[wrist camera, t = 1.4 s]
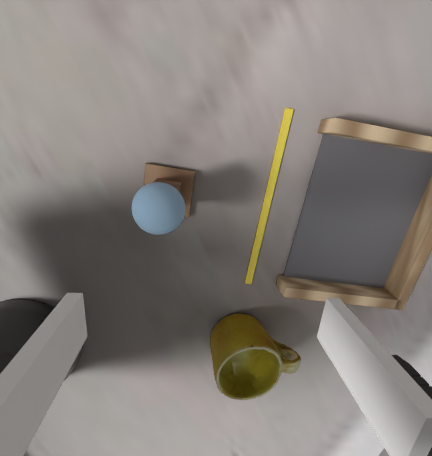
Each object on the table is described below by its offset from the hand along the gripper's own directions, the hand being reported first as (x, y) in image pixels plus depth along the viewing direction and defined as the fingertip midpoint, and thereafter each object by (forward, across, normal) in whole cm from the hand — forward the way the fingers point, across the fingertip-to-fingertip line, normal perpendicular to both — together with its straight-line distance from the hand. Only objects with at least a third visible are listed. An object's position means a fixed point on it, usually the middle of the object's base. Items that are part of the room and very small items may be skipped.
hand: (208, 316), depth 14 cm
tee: (+21, -4, +2) cm, 22 cm away
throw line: (+21, +9, +1) cm, 23 cm away
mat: (+21, +22, 0) cm, 30 cm away
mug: (+22, +9, -20) cm, 31 cm away
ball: (+13, -4, +2) cm, 14 cm away
